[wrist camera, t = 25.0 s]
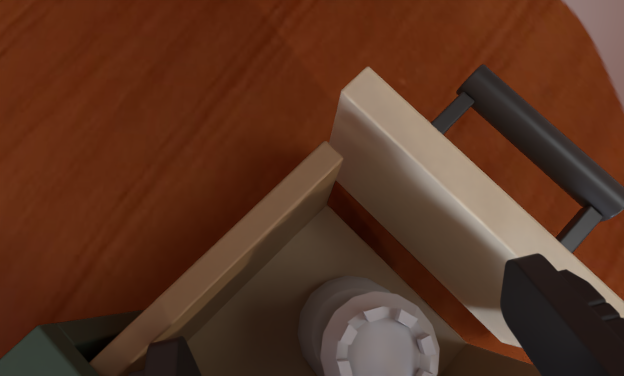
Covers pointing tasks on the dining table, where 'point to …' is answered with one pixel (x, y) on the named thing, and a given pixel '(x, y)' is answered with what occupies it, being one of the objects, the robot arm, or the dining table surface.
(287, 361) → the drawer
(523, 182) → the dining table surface
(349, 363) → the rook chess piece
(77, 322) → the cabinet
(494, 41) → the dining table surface
